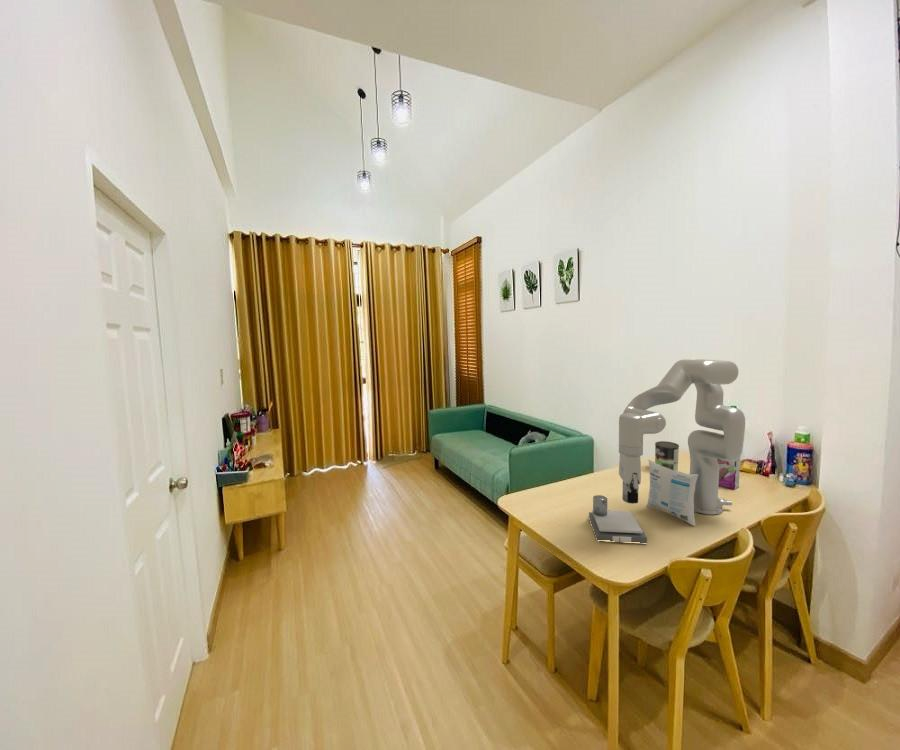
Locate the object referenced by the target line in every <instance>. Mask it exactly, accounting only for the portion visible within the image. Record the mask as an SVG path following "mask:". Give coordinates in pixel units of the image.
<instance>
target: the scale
mask: <svg viewBox="0 0 900 750" xmlns="http://www.w3.org/2000/svg"><path fill="white" fill-rule="evenodd" d="M589 518H590V520H589V522H590V521H591V523H590V525H591V524H592V526H591V528H592V527H593V529H594V531H593V533H594V532H595V534H594V536H595V535H596V537H595V538H597V540H610V541H615V542H640V543H647V544H648V537H647V535H646V533H645V532H644V530H643V529H642V527H641V525H640V524H639V521H638V520H637V518H636V517H635V515H634V513H633V512H632V511H629V510H608V509H607V516H603V517H602V516H597V515H595V514H594V513H593V509H592V510H591V511H589V512H588V519H589ZM593 529H592V530H593ZM597 540H596V541H597Z"/></svg>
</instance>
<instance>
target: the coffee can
mask: <svg viewBox="0 0 900 750" xmlns="http://www.w3.org/2000/svg"><path fill="white" fill-rule="evenodd" d="M654 445H655V447H654V449H655V450H654V456H655V457H654V462H655V463H657V464H659V465H661V466H664V467H666V468H669V469H671V470H674V471H678V472H679V452H680V451H679V447H680V444H677V443H675V442H672V441H663V440H662V441H661V440H660V441H656V442H655V443H654Z"/></svg>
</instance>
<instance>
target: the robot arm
mask: <svg viewBox="0 0 900 750" xmlns="http://www.w3.org/2000/svg"><path fill="white" fill-rule="evenodd" d="M738 376H739V368H738V365H737V364H736V363H735V362H734V361H730V360H721V359H720V360H719V359H718V360H716V359H687V358H686V359H679V360H677V361H676V362H675V363H674V364H673V365H672V366H671V367H670V369H669V370H668V371H667V373H666V374H665V375H664V377H663V378H662V379H661V380H660V382H659V383H658V384H657V385H656V386H654V387H651V388H649V389H647V390H645V391H643V392H642V393H640V394H637V395H636V396H635V397H633V398H632V399H631V401H629V403H628V404H627V406H626V407H625V409H624V410H623V412H622V413H621V414H620V415H619V417H618V453H619V460H618V461H619V462H618V475H619V477H620V478H621V480H622V483H623V482H624V483H625V484H628V489H629V491H628V493H627V502H628V504H632V503H634V504H638V503H639V489H640V487H639V485H640V484H641V480H642V465H641V457H642V456H643V455H644V452H643V451H644V435H654V434H659V433H661V432H662V431H663V430H664V429H665V428H666V426H667V421H666V418H665V417H664V415H663V414H661V413H659V412H656V411H652V410H649V409H650V408H653V407H656V406H660V405H665V404H666V405H667V404H672V403H676V402H677V401H679V400H681V398H682V397H683V396H684V395H685V393H686V392H687V390H688V389H689V388H690V386H691V385H694V387H695V388H696V403H695V411H694V412H695V414H694V420H695V423H696V424H697V425H698V426H700V427H703V428H707V429H711V430H715V431H721V432H722V433H719V432H714V431H709V430H704V429H697V430H692V431H691V432H690V433H689V435H688V437H687V445H688V446H687V447H688V451H689V474H698V477H697V480H696V484H695V492H694V513H699V514H702V515H709V516H711V515H712V516H715V515H719V514H722V513H723V506H732V505H733V502H732V500H729V499H725V498H724V497H719V487H720V486H719V465H718V462H717V460H716V458H717V459H720V460H724V461H728V462H735V461H737V460H738V459H739V458H740V459H741V455H742V453H743V447H744V440H745V429H746V417H745V413H744V412H743V411H742V410H741V409H740V408H737V407H734V406H726V405H724V395H725V394H724V389H723V387H722V386H723V385H730V384H733V383H734V382H735V381H736V380H737V378H738ZM631 481H632V482H633V483H630V482H631ZM631 485H633V487H631ZM627 502H626V503H627Z"/></svg>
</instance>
